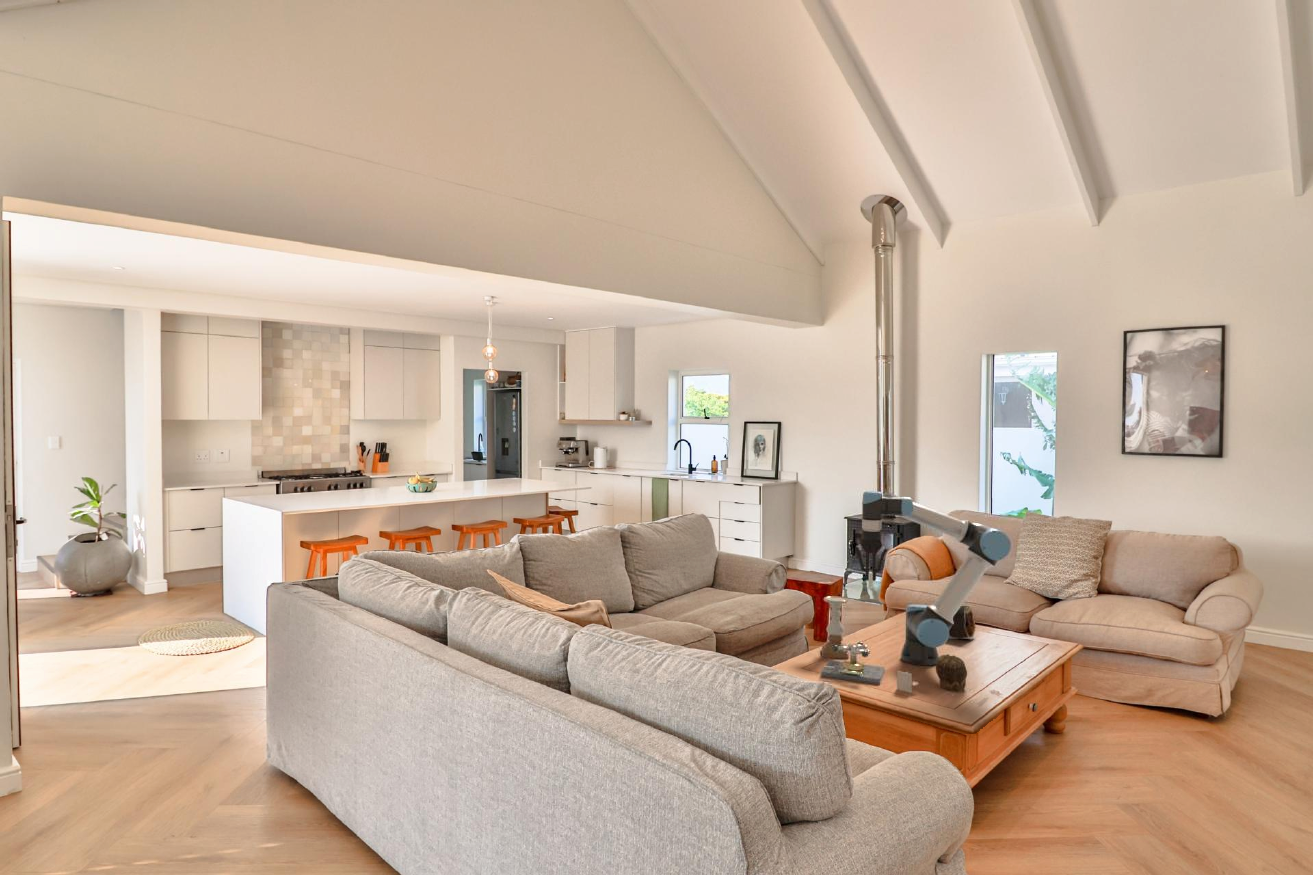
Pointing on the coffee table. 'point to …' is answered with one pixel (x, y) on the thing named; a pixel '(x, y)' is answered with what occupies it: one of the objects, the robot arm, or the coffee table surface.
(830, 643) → the candle holder
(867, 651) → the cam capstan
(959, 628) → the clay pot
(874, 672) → the stand
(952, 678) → the dark brown rounded lump
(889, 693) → the coffee table surface
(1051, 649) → the coffee table surface
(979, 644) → the coffee table surface
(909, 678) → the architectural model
